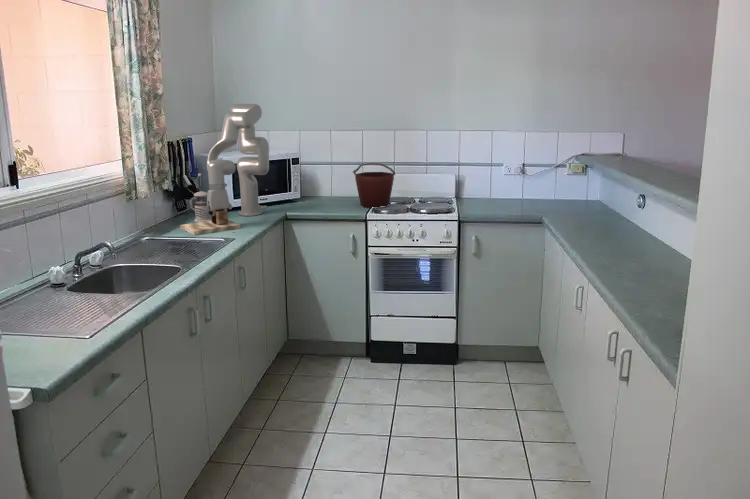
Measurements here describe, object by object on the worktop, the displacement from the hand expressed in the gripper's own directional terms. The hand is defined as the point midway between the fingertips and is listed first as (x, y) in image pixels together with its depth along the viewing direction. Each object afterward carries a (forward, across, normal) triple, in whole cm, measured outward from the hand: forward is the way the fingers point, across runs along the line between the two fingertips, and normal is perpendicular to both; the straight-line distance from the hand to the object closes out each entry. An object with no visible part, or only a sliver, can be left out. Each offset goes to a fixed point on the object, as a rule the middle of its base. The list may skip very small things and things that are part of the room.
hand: (219, 222), depth 316 cm
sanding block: (0, 0, 0) cm, 0 cm away
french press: (+3, 0, -23) cm, 23 cm away
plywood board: (+3, +5, 0) cm, 6 cm away
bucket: (+3, -96, +4) cm, 96 cm away
